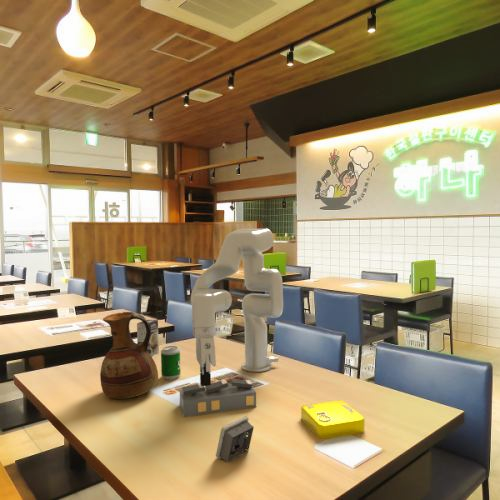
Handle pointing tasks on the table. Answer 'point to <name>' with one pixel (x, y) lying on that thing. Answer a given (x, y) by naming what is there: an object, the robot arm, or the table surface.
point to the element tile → (332, 419)
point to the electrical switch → (234, 439)
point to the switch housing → (217, 400)
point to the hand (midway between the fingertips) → (205, 384)
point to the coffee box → (153, 341)
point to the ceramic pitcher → (127, 360)
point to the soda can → (170, 362)
